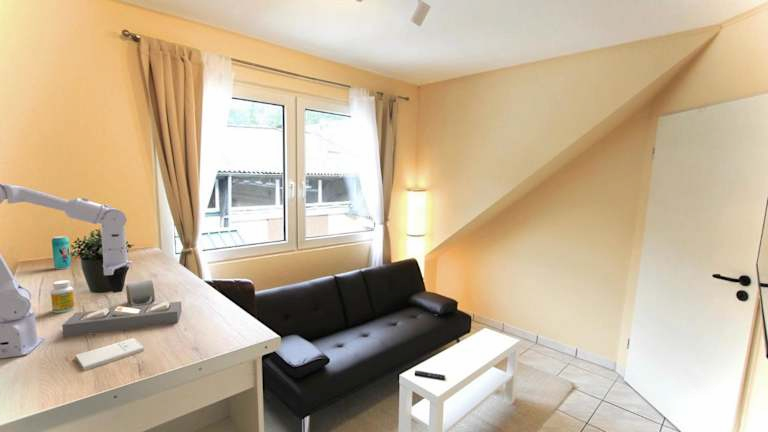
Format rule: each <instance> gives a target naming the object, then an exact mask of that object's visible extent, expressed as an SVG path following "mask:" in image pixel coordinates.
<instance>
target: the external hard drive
mask: <svg viewBox="0 0 768 432" xmlns="http://www.w3.org/2000/svg"><path fill="white" fill-rule="evenodd" d="M143 351H145V347H144V346H143V345H142V344H141V343H140V342H139V341H138V340H137V339H136V338H134V337H132V338H130V339H129V338H128V339H126V340H123V341H118V342H116V343H112V344H109V345H105V346H102V347H99V348H95V349H92V350H91V349H90V350H88V351H85V352H81V353H79V354H75V355H74V359H75V361H76V362H77V363H78V364H79V366H80V368H81V369H82V370H83V371H88V370H89V369H93V368H97V367H98V366H99V367H100V366H102V365H104V364H107V363H110V362H113V361H117V360H119V359H122V358H125V357H129V356H131V355H134V354H138V353H140V352H143Z"/></svg>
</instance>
